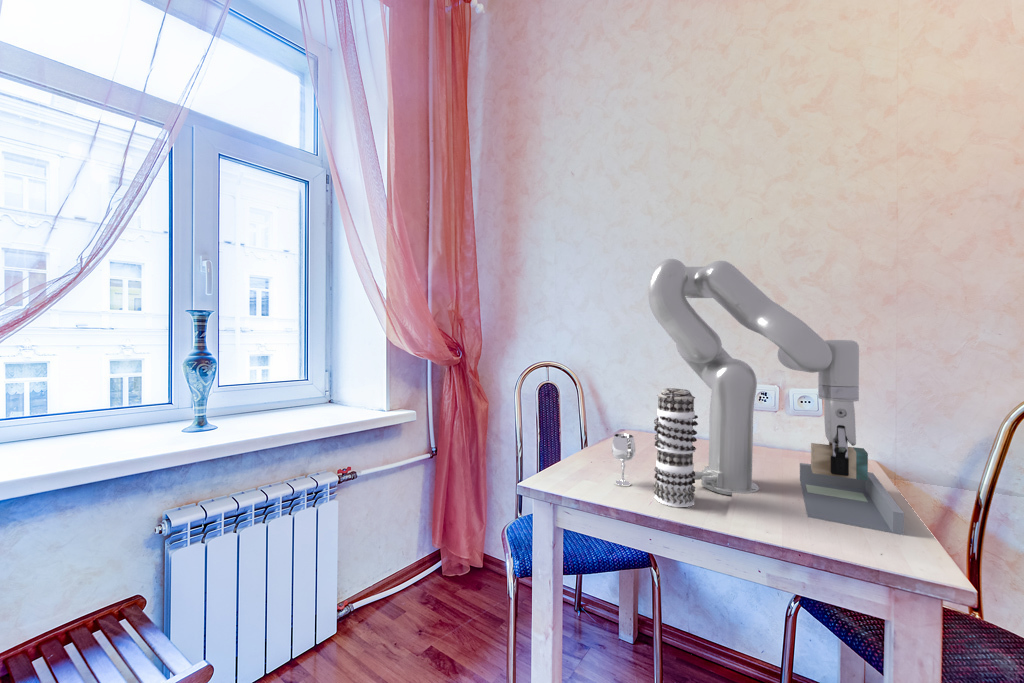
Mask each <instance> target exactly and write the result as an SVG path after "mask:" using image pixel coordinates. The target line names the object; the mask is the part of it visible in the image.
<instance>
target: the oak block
mask: <svg viewBox="0 0 1024 683" xmlns="http://www.w3.org/2000/svg"><path fill="white" fill-rule="evenodd" d="M835 447H838V446H835ZM868 455H869V453H868V451H866V449H865V448H864V447H863V448H862V447H855V446H848V458H849V475H848V476H843V475H835V474H832V473H831V456H832V445H829V444H825V443H823V444H822V443H814V442H810V464H811V469H812V472H813V473H815V474H823V475H830V476H838V477H846V478H853V479H861V480H868V472H869V470H868V468H869V456H868Z"/></svg>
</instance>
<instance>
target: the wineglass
mask: <svg viewBox="0 0 1024 683" xmlns="http://www.w3.org/2000/svg"><path fill="white" fill-rule="evenodd" d="M611 454H612V456H613V458H614V459H615V460H617V461H620V463H621V464H620V467H621V478H620V480H619V479H618V480H619V481H617V480H615V481H616V483H617V484H618V485H629V484H630V483H629V482H630V481H628V480H625V468H626V463H627V462H630V461H632V460H633V458H634V457H635V456H636V443H635V438H634V436H633V435H632V434H627V433H615V434H614V435H613V437H612V442H611ZM625 462H626V463H625Z"/></svg>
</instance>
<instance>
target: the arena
mask: <svg viewBox="0 0 1024 683" xmlns="http://www.w3.org/2000/svg"><path fill="white" fill-rule="evenodd" d="M799 483H800V487H801V491H802V496H803V497H802V498H803V502H804V505H805V511H806V515H807V518H811V519H816V520H820V521H821V520H822V521H827V522H831V523H837V524H843V525H846V526H847V525H848V526H853V527H858V528H862V529H869V530H874V531H878V532H884V533H889V534H895V535H899V536H904V532H905V528H904V527H905V526H904V525H905V513H904V511H903V509H902V508H901V507H900V506H899V505H898V504H897V502H896V501H895V499H893V497H892V496H891V494H890V493H889V492H888V490H887V489H886V488H885V487H884V485H883V484H882V483H881V481H880V480H879V479H878V478H877V476H876V475H875V474H874V472H869V471H868V480H861V479H853V478H846V477H838V476H830V475H823V474H815V473H813V472H812V469H811V463H804V462H800V463H799Z"/></svg>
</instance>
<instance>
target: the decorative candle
mask: <svg viewBox="0 0 1024 683" xmlns="http://www.w3.org/2000/svg"><path fill="white" fill-rule="evenodd" d="M656 397H658V400H657V401H658V406H657V411H656V412H657V413H656V414H657V415H656V416H658V417H656V418H655V419H654V423H653V424H654V428H653V429H654V431H655V432H656V434H655V435H654V440H655V441H654V447H655V449H657V453H656V455H657V458H656V461H655V462H656V463H655V464H656V466H655V467H654V472H655V474H654V478H655V481H654V483H653V486H654V490H653V493H654V498H655V499H656V500H657V501H658V502H660V503H662V504H665V505H668V506H667V507H669V506H674V507H673V508H675V507H688V506H692V505H693V504H694V505H695V500H694V499H695V498H696V495H695V492H696V487H695V485H694V484H695V483H696V480H695V479H694V478H693V477H694V476H695V472H696V471H694V462H693V460H694V453H696V450H697V448H696V446H694V445H693V444H694V443H695V442H697V441H698V439H697V438H696V437H695V435H697V434H698V432H697V430H695V429H694V427H696V426H698V425H699V423H698V422H697V421H696V419H698V418H699V416H698V415H696V414H695V412H696V410H695V399H696V397H695V396H693V395H692V392H691V391H690V390H688V389H684V388H675V387H674V388H671V387H670V388H663V389H662V390H661V391H660V393H659V394H656ZM655 499H654V500H655ZM656 500H655V501H656ZM657 501H656V502H657ZM658 502H657V503H658ZM660 503H659V504H660ZM662 504H661V505H662ZM665 505H664V506H665ZM694 505H693V506H694ZM693 506H692V507H693ZM688 508H689V507H688Z"/></svg>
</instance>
